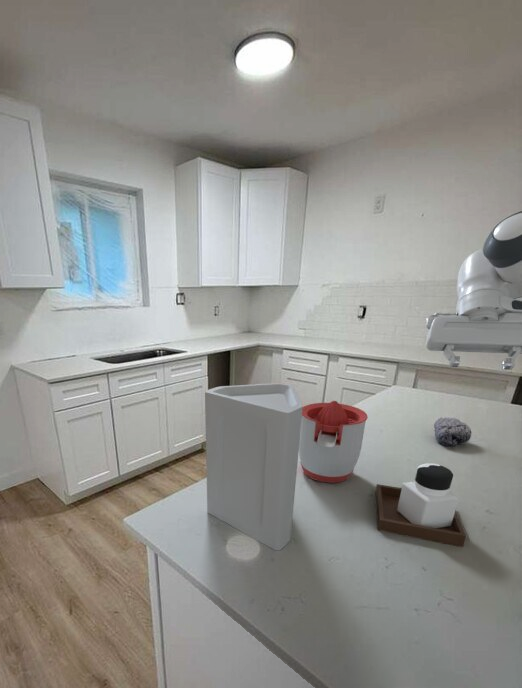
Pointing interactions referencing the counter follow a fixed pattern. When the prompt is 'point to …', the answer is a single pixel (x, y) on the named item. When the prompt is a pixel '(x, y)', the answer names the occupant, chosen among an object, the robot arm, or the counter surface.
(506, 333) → the robot arm
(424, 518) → the medicine bottle
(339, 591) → the counter surface
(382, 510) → the tray
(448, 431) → the pumice stone
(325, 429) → the citrus juicer
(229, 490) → the triangular white caddy
